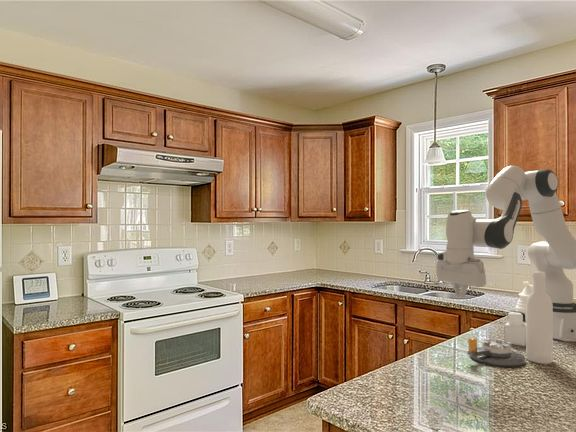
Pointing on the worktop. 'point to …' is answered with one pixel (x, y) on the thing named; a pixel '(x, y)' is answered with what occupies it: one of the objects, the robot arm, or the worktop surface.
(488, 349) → the crank handle dial
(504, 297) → the worktop surface
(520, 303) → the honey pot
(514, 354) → the flange
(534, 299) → the bottle
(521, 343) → the medicine bottle
